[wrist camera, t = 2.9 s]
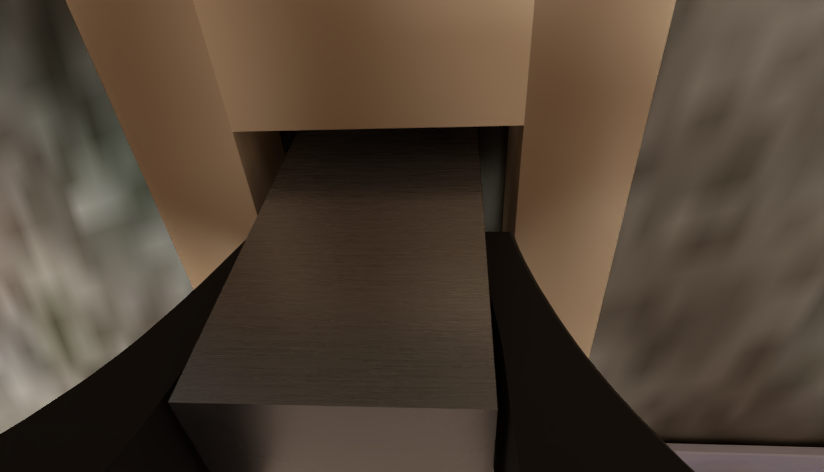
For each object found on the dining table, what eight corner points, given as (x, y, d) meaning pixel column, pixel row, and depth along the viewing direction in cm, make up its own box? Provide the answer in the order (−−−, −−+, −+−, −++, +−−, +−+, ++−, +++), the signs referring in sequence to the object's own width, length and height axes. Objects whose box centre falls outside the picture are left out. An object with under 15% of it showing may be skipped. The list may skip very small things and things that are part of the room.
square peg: (475, 106, 12) (497, 409, 6) (472, 238, 15) (486, 548, 9) (307, 110, 13) (167, 402, 6) (333, 239, 15) (249, 538, 9)
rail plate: (660, -173, 9) (715, -167, 7) (560, 354, 18) (573, 421, 16) (99, -136, 10) (11, -121, 8) (269, 350, 19) (248, 413, 17)
